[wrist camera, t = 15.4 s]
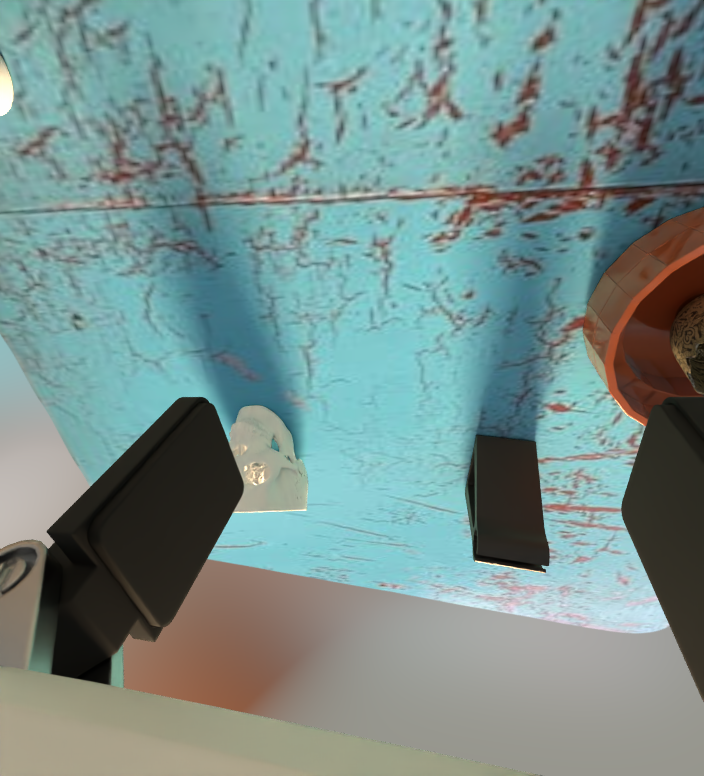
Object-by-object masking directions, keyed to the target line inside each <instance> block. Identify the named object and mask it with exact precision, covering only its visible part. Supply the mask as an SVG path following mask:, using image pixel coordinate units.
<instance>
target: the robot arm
mask: <svg viewBox="0 0 704 776" xmlns="http://www.w3.org/2000/svg"><path fill="white" fill-rule="evenodd" d="M243 492H244V482H243V479H242V476H241V474H240V471H239V468H238V466H237V463H236V461H235V458H234V455H233V453H232V450H231V448H230V445H229V442H228V440H227V437H226V435H225V432H224V429H223V427H222V424H221V421H220V419H219V416H218V414H217V411H216V408H215V407H214V405H213V404H211V403H209V401H208V400H207V399H206V398H203V397H182V398H179V399H178V400H176V401H175V402H174V403H173V404H172V405H171V406H170V407H169V408H168V409H167V410H166V411H165V412H164V413H163V414H162V415H161V416H160V417H159V418H158V419H157V420H156V421H155V423H154V424H153V425H152V426H151V427H150V428H149V429H148V430H147V431H146V432H145V433H144V434H143V435H142V436H141V437H140V438H139V439H138V440H137V441H136V442H135V443H134V444H133V445H132V446H131V447H130V448H129V449H128V450H127V451H126V452H125V453H124V454H123V455H122V456H121V457H120V458H119V459H118V460H117V461H116V462H115V463H114V464H113V465H112V466H111V467H110V468H109V469H108V470H107V471H106V472H105V473H104V474H103V475H102V476H101V477H100V478H99V479H98V480H97V481H96V482H95V483H94V484H93V485H92V486H91V487H90V488H89V489H88V490H87V491H86V492H85V493H84V494H83V495H82V496H81V497H80V498H79V499H78V500H77V501H76V502H75V503H74V504H73V505H72V506H71V507H70V508H69V509H68V510H67V511H66V512H65V513H64V514H63V515H62V516H61V517H60V518H59V519H58V520H57V521H56V522H55V523H54V524H53V525H52V526H51V527H50V528H49V529H48V530H47V533H48V534H49V535H50V537H51V538H52V539H53V540H54V541H55V543H54V544H53V545H52V546H51V547H50V548H49V549H48V548H47V547H46V546H45V545H44V544H43V543H42V542H41V541H37V540H24V541H19V542H16V543H13V544H10V545H8V546H6V547H4V548H2V549H0V776H541V775H536V774H531V773H527V772H522V771H518V770H513V769H508V768H504V767H499V766H494V765H490V764H485V763H480V762H476V761H471V760H467V759H462V758H457V757H453V756H448V755H443V754H438V753H433V752H429V751H424V750H420V749H414V748H410V747H405V746H401V745H396V744H391V743H386V742H381V741H376V740H372V739H367V738H362V737H357V736H353V735H348V734H343V733H338V732H333V731H329V730H324V729H319V728H315V727H310V726H305V725H300V724H295V723H291V722H286V721H281V720H276V719H272V718H266V717H262V716H257V715H252V714H247V713H242V712H237V711H233V710H228V709H223V708H219V707H214V706H208V705H204V704H199V703H194V702H189V701H184V700H179V699H174V698H170V697H164V696H160V695H154V694H150V693H145V692H140V691H135V690H130V689H125V688H124V665H123V642H124V641H125V639H126V638H127V636H128V635H129V634H130V635H131V636H132V637H133V638H134V639H140V640H145V641H151V642H155V641H156V640H157V638H158V636H159V634H160V633H161V631H162V629H163V627H166V626H167V625H169V624H170V623H171V622H172V620H173V619H174V617H175V615H176V613H177V612H178V610H179V608H180V606H181V604H182V603H183V601H184V599H185V597H186V596H187V594H188V592H189V590H190V588H191V587H192V585H193V583H194V581H195V579H196V578H197V576H198V574H199V572H200V570H201V569H202V567H203V565H204V563H205V562H206V560H207V558H208V556H209V554H210V553H211V551H212V549H213V547H214V545H215V544H216V542H217V540H218V538H219V537H220V535H221V533H222V531H223V529H224V528H225V526H226V524H227V522H228V520H229V519H230V517H231V515H232V513H233V512H234V510H235V508H236V506H237V504H238V503H239V501H240V499H241V497H242V495H243ZM621 510H622V517H623V520H624V523H625V525H626V528H627V530H628V532H629V534H630V537H631V539H632V541H633V543H634V546H635V548H636V550H637V552H638V555H639V557H640V559H641V562H642V564H643V566H644V568H645V571H646V573H647V575H648V577H649V580H650V582H651V584H652V586H653V589H654V591H655V593H656V596H657V598H658V600H659V602H660V605H661V607H662V609H663V611H664V614H665V616H666V618H667V620H668V623H669V625H670V627H671V629H672V632H673V634H674V636H675V639H676V641H677V643H678V645H679V648H680V650H681V652H682V654H683V657H684V659H685V661H686V663H687V666H688V668H689V670H690V672H691V675H692V677H693V679H694V682H695V684H696V686H697V688H698V690H699V693H700V695H701V697H702V700H703V701H704V397H668V398H666V399H665V400H664V401H663V403H662V405H654V406H653V408H652V409H651V412H650V415H649V418H648V421H647V424H646V428H645V431H644V434H643V437H642V440H641V444H640V447H639V450H638V453H637V456H636V459H635V463H634V466H633V469H632V472H631V475H630V479H629V482H628V485H627V488H626V491H625V494H624V498H623V501H622V508H621Z"/></svg>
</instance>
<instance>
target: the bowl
mask: <svg viewBox="0 0 704 776" xmlns="http://www.w3.org/2000/svg"><path fill="white" fill-rule="evenodd" d="M700 293H704V207H702V208H699V209H696V210H694V211H691V212H688V213H685V214H683V215H680V216H677V217H674V218H672V219H670V220H668V221H666V222H665V223H663V224H662V225H660V226H659V227H657V228H655V229H654V230H652V231H651V232H649V233H648V234H646V235H645V236H643V237H641V238H640V239H638V240H637V241H635V242H634V243H633V244H631V245H630V246H629V248H628V249H627V250H626V251H625V252H624V253H623V254H622V255H621V256H620V257H619V258H618V259H617V260H616V261H615V262H614V263H613V264H612V265H611V266H610V267H609V268H608V269H607V270H606V271H605V273H604V274H603V276H602V278H601V279H600V281H599V283H598V285H597V287H596V289H595V290H594V292H593V294H592V296H591V298H590V299H589V301H588V304H587V310H586V315H585V321H584V326H583V336H584V340H585V345H586V350H587V354H588V357H589V359H590V361H591V362H592V364H593V366H594V367H595V369H596V371H597V372H598V374H599V376H600V377H601V379H602V380H603V382H604V384H605V385H606V387H607V389H608V390H609V392H610V394H611V395H612V396H613V398H614V399H615V400H616V402H617V403H618V404H619V406H620V407H621V408H622V410H623V411H624V413H625V414H626V415H628V416H630V417H631V418H633V419H634V420H636V421H638V422H639V423H641V424H643V425H644V426H646V424H647V421H648V418H649V415H650V412H651V409H652V408H653V406H654V405H662V403H663V401H664V400H665V399H666V398H668V397H704V396H703V395H702V394H699V393H697V392H696V391H695V389H694V388H693V386H692V384H691V382H690V380H689V379H688V377H687V376H686V374H685V373H684V371H683V370H682V368H681V366H680V365H679V363H678V362H677V360H676V358H675V356H674V354H673V351H672V349H671V345H670V330H671V326H672V323H673V321H674V319H675V314H676V311H677V309H678V308H679V307H680V305H681V304H682V303H683V302H684V301H686V300H687V299H689V298H690V297H692V296H694V295H697V294H700Z"/></svg>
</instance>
